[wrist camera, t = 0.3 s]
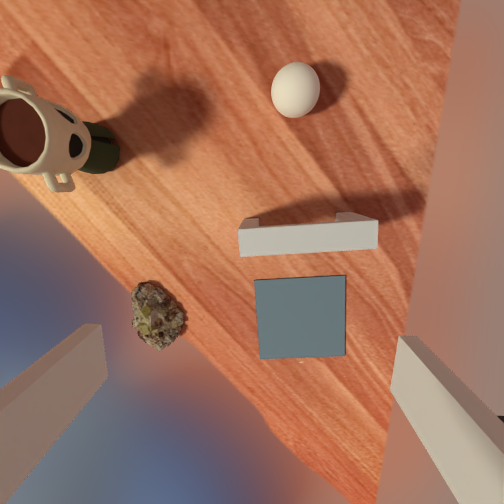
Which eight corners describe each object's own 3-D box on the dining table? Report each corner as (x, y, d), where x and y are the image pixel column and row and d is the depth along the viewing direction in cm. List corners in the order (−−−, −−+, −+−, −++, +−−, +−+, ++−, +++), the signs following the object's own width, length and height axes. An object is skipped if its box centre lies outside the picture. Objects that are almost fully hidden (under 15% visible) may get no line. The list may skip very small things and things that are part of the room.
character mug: (137, 183, 37) (72, 182, 25) (90, 197, 38) (4, 203, 25) (106, 98, 35) (17, 49, 22) (57, 115, 36) (-56, 77, 23)
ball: (269, 76, 33) (270, 55, 28) (314, 71, 33) (324, 49, 28) (272, 124, 35) (273, 113, 29) (315, 120, 34) (324, 108, 29)
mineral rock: (193, 342, 41) (139, 364, 39) (193, 330, 45) (145, 349, 44) (166, 275, 39) (109, 296, 37) (169, 270, 43) (118, 288, 42)
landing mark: (254, 280, 40) (254, 280, 40) (344, 275, 39) (345, 275, 39) (260, 358, 43) (260, 359, 43) (344, 355, 42) (344, 356, 42)
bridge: (244, 218, 38) (237, 229, 29) (350, 211, 37) (378, 220, 28) (245, 240, 38) (240, 256, 30) (350, 233, 38) (377, 248, 29)
